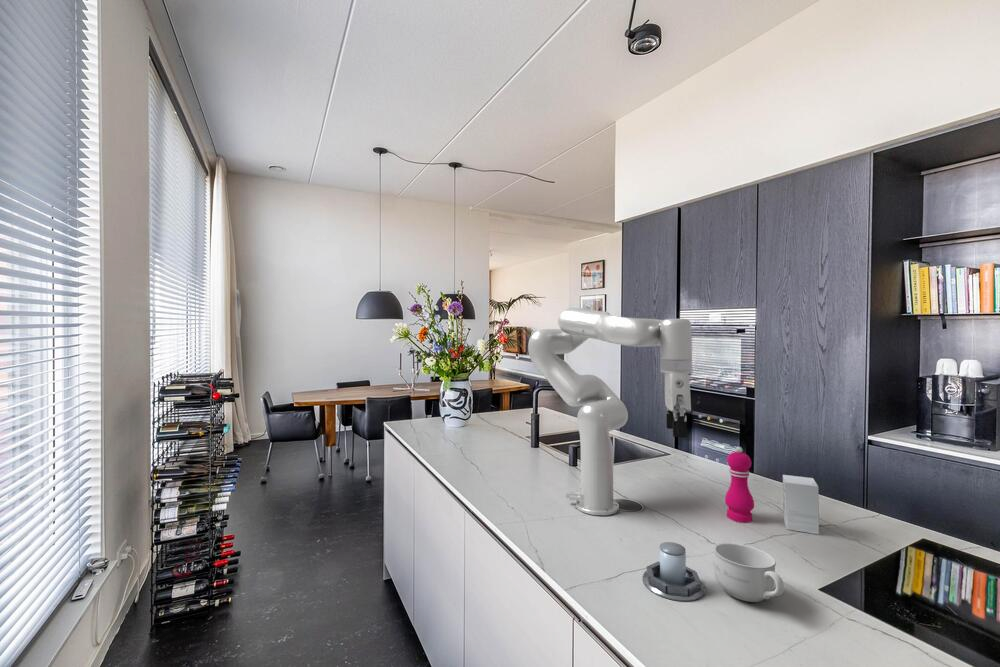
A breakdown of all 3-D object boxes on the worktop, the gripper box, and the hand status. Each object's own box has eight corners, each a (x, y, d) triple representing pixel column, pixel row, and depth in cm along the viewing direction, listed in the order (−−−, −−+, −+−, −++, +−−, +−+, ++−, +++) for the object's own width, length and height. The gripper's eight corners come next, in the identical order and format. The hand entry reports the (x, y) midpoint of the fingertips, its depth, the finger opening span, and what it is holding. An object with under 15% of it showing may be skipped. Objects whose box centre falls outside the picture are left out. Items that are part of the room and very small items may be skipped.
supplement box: (814, 524, 119) (814, 477, 119) (819, 535, 113) (819, 486, 113) (782, 519, 123) (782, 473, 123) (785, 529, 116) (784, 481, 116)
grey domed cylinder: (688, 589, 89) (687, 554, 89) (661, 586, 90) (661, 552, 90) (683, 576, 93) (683, 543, 93) (658, 573, 95) (658, 541, 95)
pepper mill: (758, 524, 119) (757, 450, 119) (729, 522, 121) (729, 449, 121) (749, 513, 126) (748, 444, 126) (721, 512, 128) (721, 443, 128)
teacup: (703, 579, 93) (703, 541, 93) (752, 576, 94) (752, 539, 94) (745, 622, 79) (745, 578, 79) (802, 618, 80) (802, 574, 80)
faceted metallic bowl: (646, 597, 87) (646, 587, 87) (639, 566, 98) (639, 557, 98) (711, 604, 84) (711, 594, 84) (697, 571, 96) (697, 562, 96)
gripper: (699, 369, 105) (699, 441, 105) (684, 364, 122) (684, 426, 122) (665, 368, 106) (666, 440, 106) (655, 364, 123) (656, 425, 123)
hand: (676, 432), depth 114 cm, fingers open, 9 cm apart
